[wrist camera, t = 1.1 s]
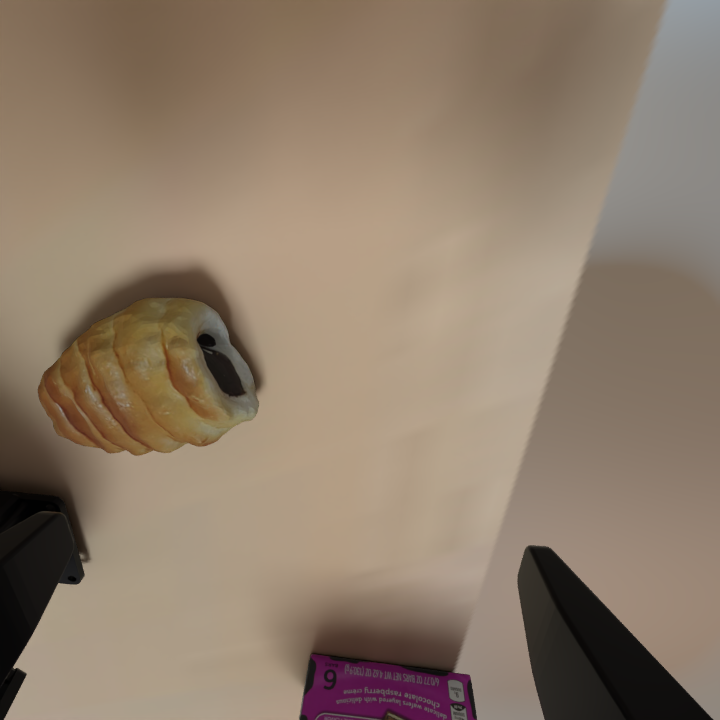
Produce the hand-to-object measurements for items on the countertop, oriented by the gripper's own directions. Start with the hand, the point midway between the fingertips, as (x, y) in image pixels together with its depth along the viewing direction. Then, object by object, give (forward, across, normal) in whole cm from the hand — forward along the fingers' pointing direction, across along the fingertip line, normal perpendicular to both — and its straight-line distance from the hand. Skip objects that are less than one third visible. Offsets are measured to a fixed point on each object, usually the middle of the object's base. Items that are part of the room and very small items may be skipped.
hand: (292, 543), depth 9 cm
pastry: (+13, +11, +2) cm, 17 cm away
